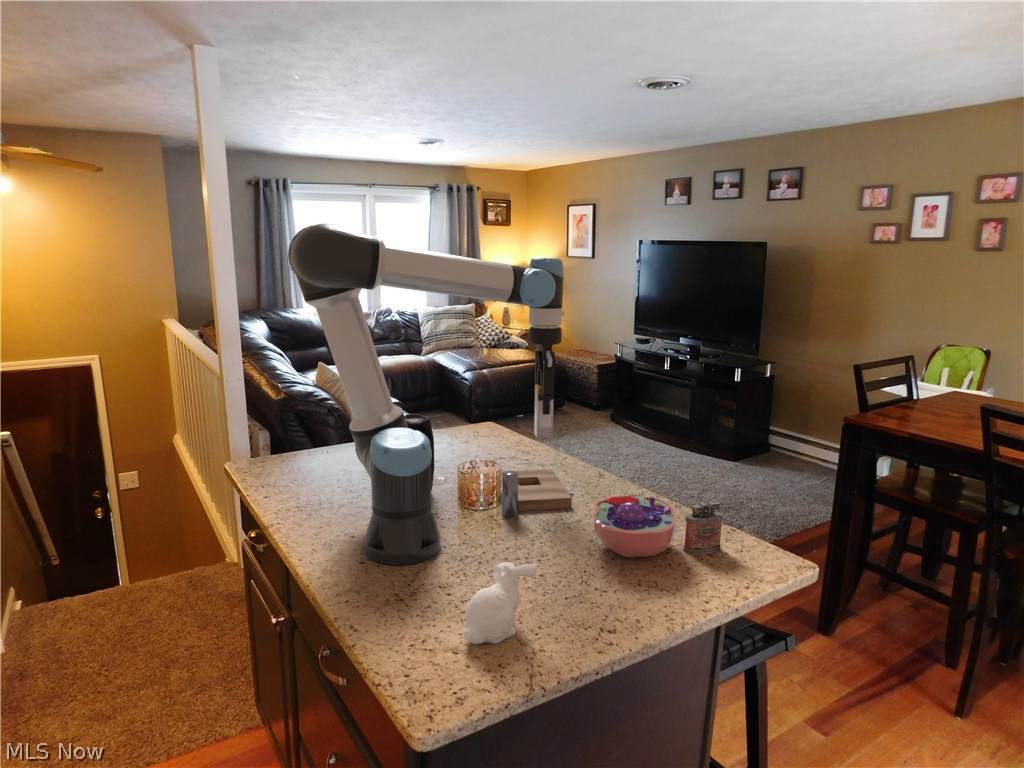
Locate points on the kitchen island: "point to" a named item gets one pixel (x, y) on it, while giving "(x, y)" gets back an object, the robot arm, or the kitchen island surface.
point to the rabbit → (496, 605)
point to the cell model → (635, 524)
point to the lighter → (703, 529)
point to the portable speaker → (423, 426)
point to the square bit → (539, 432)
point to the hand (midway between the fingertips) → (543, 424)
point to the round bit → (510, 494)
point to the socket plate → (540, 491)
